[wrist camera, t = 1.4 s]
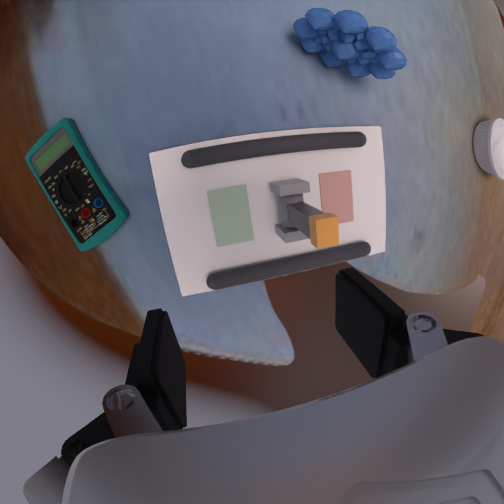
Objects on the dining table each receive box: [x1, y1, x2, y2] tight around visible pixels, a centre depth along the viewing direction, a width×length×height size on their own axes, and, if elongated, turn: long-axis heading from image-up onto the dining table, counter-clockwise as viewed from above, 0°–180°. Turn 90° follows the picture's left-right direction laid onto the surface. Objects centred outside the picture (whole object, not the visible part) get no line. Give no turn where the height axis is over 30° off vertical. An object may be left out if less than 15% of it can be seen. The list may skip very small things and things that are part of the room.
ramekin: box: [473, 118, 504, 180], centre depth 33 cm, size 11×11×5 cm
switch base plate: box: [149, 126, 386, 297], centre depth 29 cm, size 16×26×6 cm, turn 99°
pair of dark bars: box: [181, 131, 371, 290], centre depth 29 cm, size 15×20×2 cm
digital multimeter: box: [25, 118, 129, 251], centre depth 26 cm, size 7×15×3 cm, turn 30°
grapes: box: [293, 8, 406, 79], centre depth 21 cm, size 12×7×12 cm, turn 63°
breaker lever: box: [279, 193, 339, 249], centre depth 25 cm, size 3×2×10 cm
